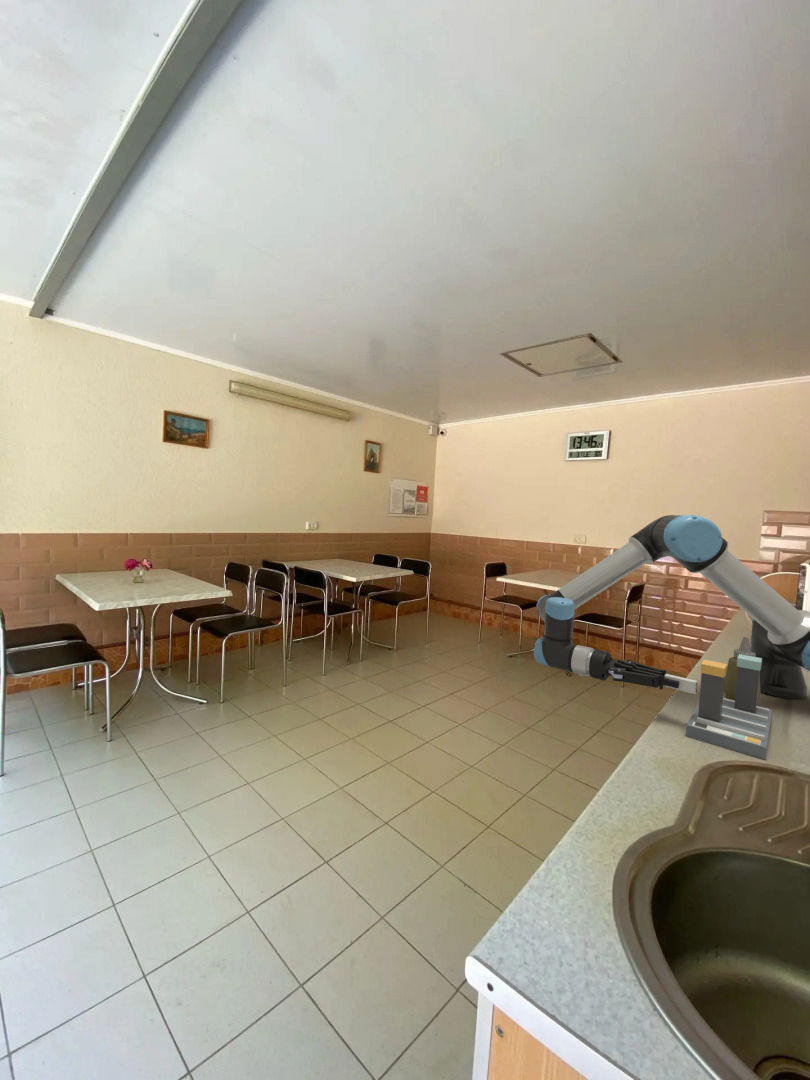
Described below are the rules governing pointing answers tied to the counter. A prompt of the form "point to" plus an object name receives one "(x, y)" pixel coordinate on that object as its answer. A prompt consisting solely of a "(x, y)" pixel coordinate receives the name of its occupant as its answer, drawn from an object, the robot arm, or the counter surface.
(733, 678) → the squeeze bottle
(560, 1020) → the counter surface
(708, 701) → the orange capped grey block
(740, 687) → the mint capped grey block
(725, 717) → the console
